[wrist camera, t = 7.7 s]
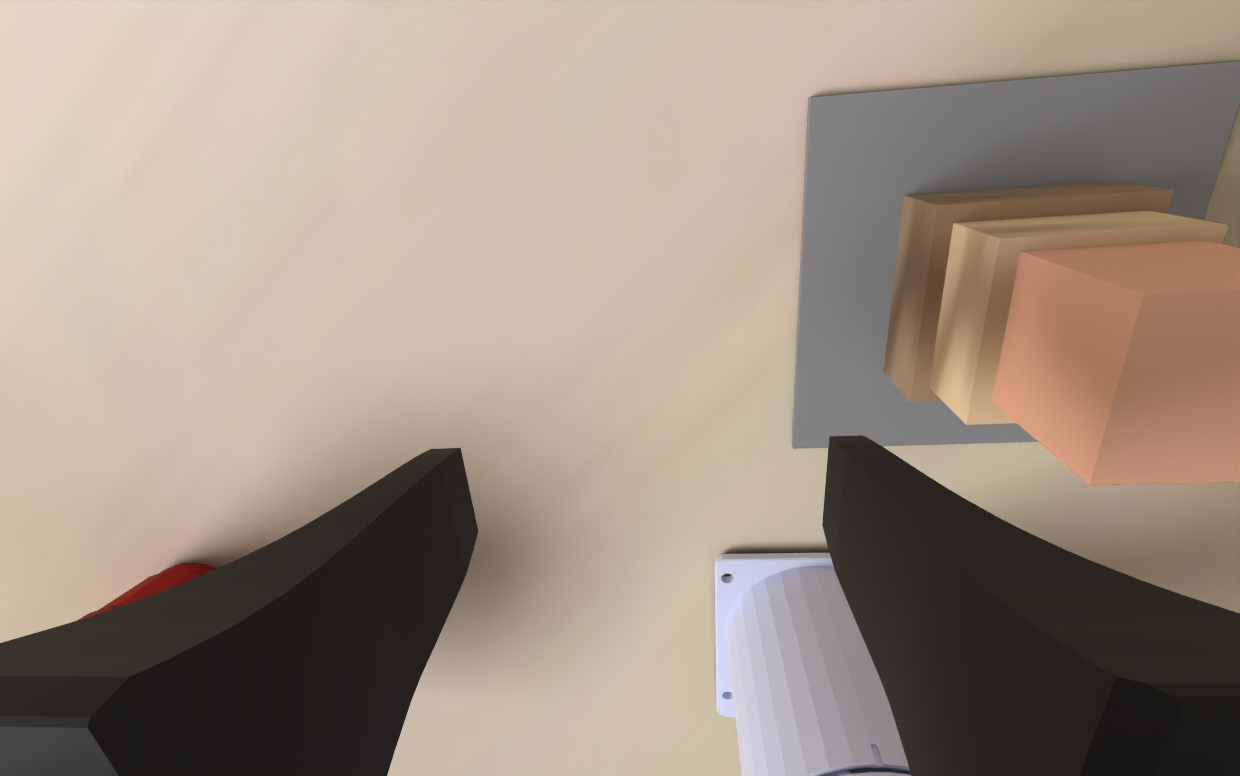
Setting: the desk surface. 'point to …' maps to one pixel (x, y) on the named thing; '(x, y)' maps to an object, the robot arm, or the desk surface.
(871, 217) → the mat
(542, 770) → the desk surface
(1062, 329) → the cube
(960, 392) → the tower middle
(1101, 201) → the tower base
